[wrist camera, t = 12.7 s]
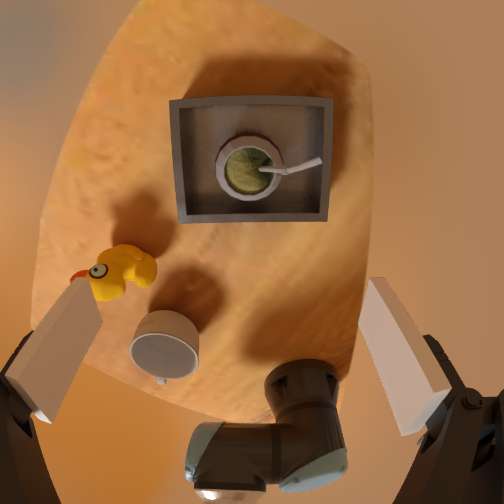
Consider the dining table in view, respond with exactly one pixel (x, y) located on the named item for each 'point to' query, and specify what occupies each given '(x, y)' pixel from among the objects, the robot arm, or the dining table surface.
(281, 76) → the dining table surface
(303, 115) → the tray
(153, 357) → the teacup
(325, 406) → the robot arm
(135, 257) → the duckling
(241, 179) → the mate gourd
